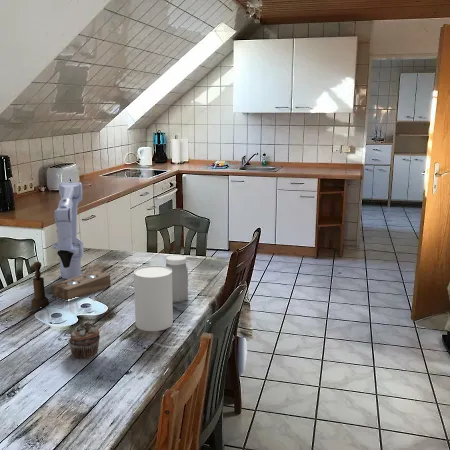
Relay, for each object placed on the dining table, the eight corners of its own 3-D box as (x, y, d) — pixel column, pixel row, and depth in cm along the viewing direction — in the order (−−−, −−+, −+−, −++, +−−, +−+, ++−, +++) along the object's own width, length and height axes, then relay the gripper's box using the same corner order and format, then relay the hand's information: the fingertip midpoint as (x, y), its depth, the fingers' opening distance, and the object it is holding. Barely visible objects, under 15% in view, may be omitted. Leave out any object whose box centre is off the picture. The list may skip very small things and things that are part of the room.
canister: (137, 332, 174) (135, 278, 169) (133, 317, 187) (132, 266, 182) (175, 328, 177) (175, 275, 173) (169, 314, 190) (168, 264, 185)
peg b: (84, 286, 216) (83, 276, 215) (91, 284, 220) (91, 274, 219) (91, 289, 214) (90, 278, 213) (98, 286, 218) (98, 275, 217)
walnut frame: (52, 296, 206) (51, 284, 205) (94, 281, 225) (94, 270, 224) (68, 301, 201) (68, 289, 200) (110, 285, 220) (110, 274, 219)
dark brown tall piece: (27, 306, 196) (24, 262, 191) (40, 301, 201) (37, 258, 197) (40, 309, 193) (36, 265, 188) (52, 304, 198) (49, 261, 194)
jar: (184, 304, 199) (184, 261, 195) (161, 302, 201) (160, 260, 197) (191, 296, 209) (190, 254, 205) (168, 294, 211) (168, 253, 206)
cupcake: (88, 343, 166) (86, 315, 163) (106, 352, 160) (105, 323, 157) (63, 354, 158) (61, 324, 156) (81, 363, 152) (79, 333, 150)
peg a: (65, 293, 208) (64, 283, 207) (73, 290, 212) (73, 280, 211) (72, 296, 206) (71, 285, 205) (80, 292, 209) (80, 282, 208)
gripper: (45, 235, 209) (47, 266, 212) (68, 241, 201) (70, 272, 205) (59, 232, 215) (61, 262, 218) (82, 237, 207) (83, 268, 210)
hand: (66, 267), depth 212 cm, fingers closed
